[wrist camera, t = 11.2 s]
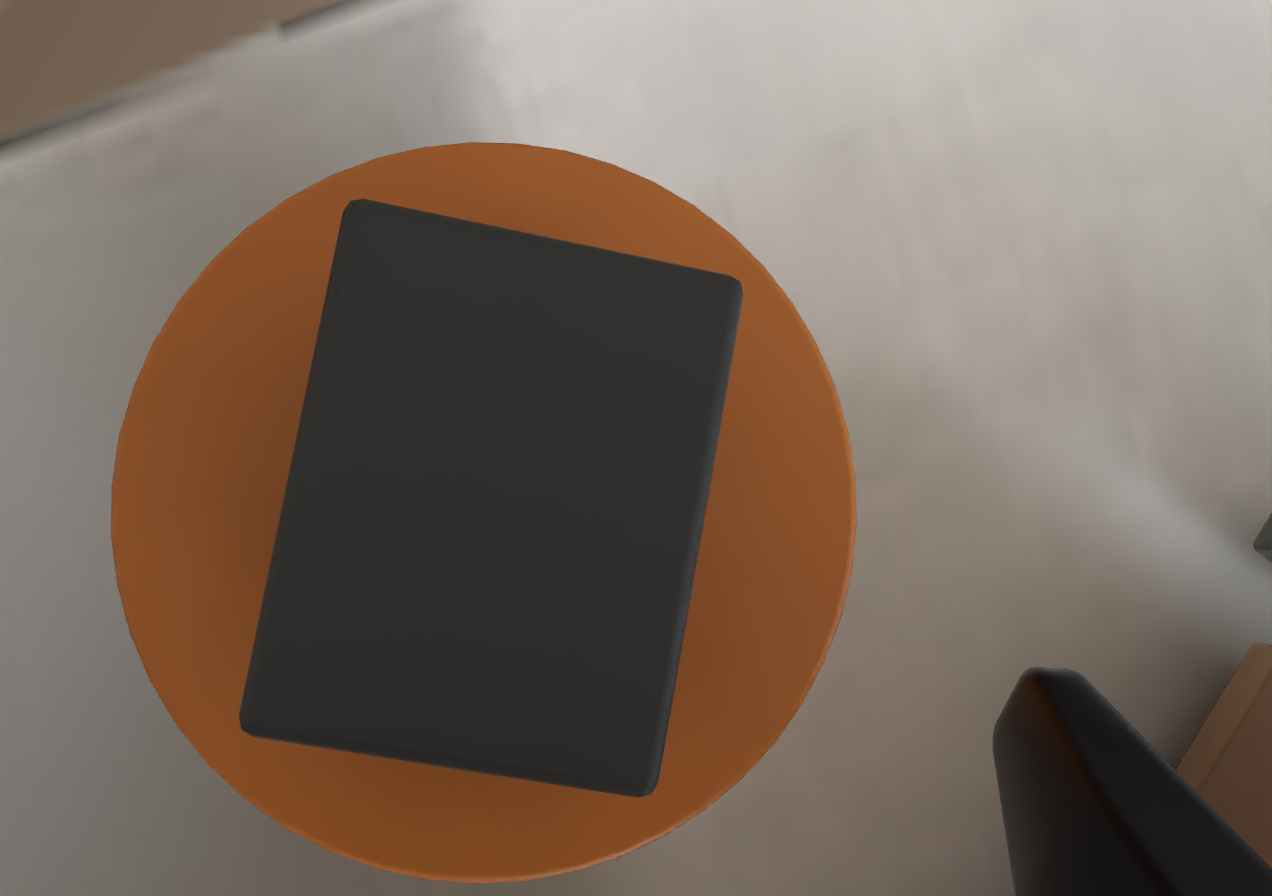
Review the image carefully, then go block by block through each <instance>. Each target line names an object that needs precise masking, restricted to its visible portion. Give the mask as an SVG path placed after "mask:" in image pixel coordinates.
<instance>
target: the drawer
mask: <svg viewBox="0 0 1272 896" xmlns="http://www.w3.org/2000/svg"><path fill="white" fill-rule="evenodd" d="M1253 548H1254V549H1255V550H1256V551H1258V552H1259V553H1260V554H1262V555H1263V556H1264V557H1266V558H1267V559H1268V560H1270V561H1271V562H1272V513H1271V515H1270V516H1269V518H1268V520H1267V521H1266V523H1265V525H1264V526H1263V528H1262V529H1261V531H1260V533H1259V534H1258V536H1257V537H1256V539H1255V541H1254V542H1253ZM1176 771H1177V772H1178V773H1179V774H1180V775H1181V776H1182V777H1183V778H1184V779H1185V780H1186V781H1187V782H1188V783H1189V784H1190V785H1191V786H1192V787H1193V789H1194V790H1195V791H1196V792H1197V793H1198V794H1199V795H1200V796H1201V797H1202V798H1203V799H1204V800H1205V801H1206V802H1207V803H1208V804H1209V805H1210V806H1211V807H1212V808H1213V809H1214V810H1215V811H1216V812H1217V813H1218V814H1219V815H1220V816H1221V817H1222V818H1223V819H1224V820H1225V821H1226V822H1227V823H1228V824H1229V825H1230V826H1231V827H1232V828H1233V829H1234V830H1235V831H1236V832H1237V834H1238V835H1239V836H1240V837H1241V838H1242V839H1243V840H1244V841H1245V842H1246V843H1247V844H1248V845H1249V846H1250V847H1251V848H1252V849H1253V850H1254V851H1255V852H1256V853H1257V854H1258V855H1259V856H1260V857H1261V858H1262V859H1263V860H1264V861H1265V862H1266V863H1267V864H1268V865H1269V866H1270V867H1271V868H1272V645H1267V644H1260V643H1254V644H1253V645H1252V646H1251V648H1250V649H1249V651H1248V652H1247V654H1246V656H1245V657H1244V659H1243V661H1242V662H1241V664H1240V666H1239V667H1238V669H1237V670H1236V672H1235V674H1234V675H1233V677H1232V679H1231V680H1230V682H1229V684H1228V685H1227V687H1226V688H1225V690H1224V692H1223V693H1222V695H1221V697H1220V698H1219V700H1218V701H1217V703H1216V705H1215V706H1214V708H1213V710H1212V711H1211V713H1210V715H1209V716H1208V718H1207V719H1206V721H1205V723H1204V724H1203V726H1202V728H1201V729H1200V731H1199V733H1198V734H1197V736H1196V737H1195V739H1194V741H1193V742H1192V744H1191V746H1190V747H1189V749H1188V751H1187V752H1186V754H1185V755H1184V757H1183V759H1182V760H1181V762H1180V764H1179V765H1178V767H1177V769H1176Z"/></svg>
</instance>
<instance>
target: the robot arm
mask: <svg viewBox="0 0 1272 896" xmlns="http://www.w3.org/2000/svg"><path fill="white" fill-rule="evenodd" d="M993 754H994V761H995V767H996V774H997V780H998V787H999V793H1000V800H1001V806H1002V813H1003V819H1004V826H1005V832H1006V839H1007V845H1008V852H1009V858H1010V864H1011V871H1012V877H1013V884H1014V890H1015V896H1272V868H1271V867H1270V866H1269V865H1268V864H1267V863H1266V862H1265V861H1264V860H1263V859H1262V858H1261V857H1260V856H1259V855H1258V854H1257V853H1256V852H1255V851H1254V850H1253V849H1252V848H1251V847H1250V846H1249V845H1248V844H1247V843H1246V842H1245V841H1244V840H1243V839H1242V838H1241V837H1240V836H1239V835H1238V834H1237V832H1236V831H1235V830H1234V829H1233V828H1232V827H1231V826H1230V825H1229V824H1228V823H1227V822H1226V821H1225V820H1224V819H1223V818H1222V817H1221V816H1220V815H1219V814H1218V813H1217V812H1216V811H1215V810H1214V809H1213V808H1212V807H1211V806H1210V805H1209V804H1208V803H1207V802H1206V801H1205V800H1204V799H1203V798H1202V797H1201V796H1200V795H1199V794H1198V793H1197V792H1196V791H1195V790H1194V789H1193V787H1192V786H1191V785H1190V784H1189V783H1188V782H1187V781H1186V780H1185V779H1184V778H1183V777H1182V776H1181V775H1180V774H1179V773H1178V772H1177V771H1176V770H1175V769H1174V768H1173V767H1172V766H1171V765H1170V764H1169V763H1168V762H1167V761H1166V760H1165V759H1164V758H1163V757H1162V756H1161V755H1160V754H1159V753H1158V752H1157V751H1156V750H1155V749H1154V748H1153V747H1152V746H1151V745H1150V743H1149V742H1148V741H1147V740H1146V739H1145V738H1144V737H1143V736H1142V735H1141V734H1140V733H1139V732H1138V731H1137V730H1136V729H1135V728H1134V727H1133V726H1132V725H1131V724H1130V723H1129V722H1128V721H1127V720H1126V719H1125V718H1124V717H1123V716H1122V715H1121V714H1120V713H1119V712H1118V711H1117V710H1116V709H1115V708H1114V707H1113V706H1112V705H1111V704H1110V703H1109V702H1108V701H1107V699H1106V698H1105V697H1104V696H1103V695H1102V694H1101V693H1100V692H1099V691H1098V690H1097V689H1096V688H1095V687H1094V686H1093V685H1092V684H1091V683H1090V682H1089V681H1088V680H1087V679H1086V678H1085V677H1084V676H1083V675H1081V674H1080V673H1078V672H1077V671H1075V670H1072V669H1067V668H1046V667H1033V668H1029V669H1028V670H1026V671H1025V672H1023V674H1022V675H1021V676H1020V678H1019V680H1018V682H1017V684H1016V686H1015V687H1014V689H1013V691H1012V693H1011V695H1010V697H1009V699H1008V701H1007V702H1006V704H1005V706H1004V708H1003V710H1002V712H1001V714H1000V716H999V717H998V719H997V721H996V724H995V727H994V732H993Z"/></svg>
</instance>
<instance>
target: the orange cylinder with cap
mask: <svg viewBox="0 0 1272 896" xmlns="http://www.w3.org/2000/svg"><path fill="white" fill-rule="evenodd" d="M855 532H856V493H855V473H854V467H853V461H852V454H851V448H850V441H849V435H848V430H847V426H846V423H845V419H844V416H843V412H842V409H841V405H840V402H839V399H838V395H837V392H836V388H835V385H834V383H833V381H832V378H831V376H830V374H829V371H828V369H827V367H826V364H825V362H824V360H823V358H822V355H821V353H820V351H819V348H818V346H817V344H816V342H815V340H814V339H813V337H812V335H811V334H810V332H809V330H808V328H807V327H806V325H805V323H804V322H803V320H802V318H801V317H800V315H799V313H798V312H797V310H796V308H795V307H794V305H793V303H792V302H791V301H790V299H789V298H788V297H787V296H786V294H785V293H784V292H783V290H782V289H781V288H780V287H779V285H778V284H777V283H776V281H775V280H774V279H773V278H772V276H771V275H770V274H769V272H768V271H767V270H766V269H765V267H764V266H763V265H762V264H761V263H760V262H759V261H758V260H757V259H756V258H755V257H754V256H753V255H752V254H751V253H750V252H749V251H748V250H747V249H746V248H745V247H744V246H743V245H742V244H741V243H740V242H739V241H738V240H737V239H736V238H735V237H734V236H733V235H732V234H730V233H729V232H728V231H726V230H725V229H724V228H723V227H721V226H720V225H719V224H717V223H716V222H715V221H713V220H712V219H711V218H710V217H708V216H707V215H706V214H704V213H703V212H702V211H701V210H699V209H698V208H697V207H695V206H694V205H692V204H691V203H689V202H687V201H685V200H684V199H682V198H680V197H679V196H677V195H675V194H673V193H672V192H670V191H668V190H667V189H665V188H663V187H662V186H660V185H658V184H656V183H655V182H653V181H650V180H648V179H646V178H643V177H641V176H639V175H636V174H634V173H632V172H629V171H627V170H624V169H622V168H620V167H617V166H615V165H613V164H610V163H607V162H603V161H600V160H596V159H593V158H589V157H586V156H582V155H579V154H575V153H572V152H568V151H564V150H557V149H551V148H544V147H537V146H531V145H524V144H513V143H461V144H452V145H442V146H433V147H423V148H419V149H415V150H410V151H406V152H402V153H398V154H394V155H389V156H385V157H381V158H377V159H374V160H371V161H368V162H366V163H363V164H360V165H358V166H355V167H353V168H350V169H347V170H345V171H342V172H339V173H337V174H334V175H331V176H329V177H327V178H325V179H324V180H322V181H320V182H318V183H316V184H314V185H312V186H311V187H309V188H307V189H305V190H303V191H301V192H299V193H297V194H296V195H294V196H292V197H290V198H288V199H286V200H285V201H284V202H282V203H281V204H279V205H278V206H277V207H275V208H274V209H273V210H271V211H270V212H268V213H267V214H266V215H264V216H263V217H261V218H260V219H259V220H257V221H256V222H254V223H253V224H252V225H250V226H249V227H247V228H246V229H245V230H244V231H243V232H242V233H241V234H240V235H239V236H238V237H237V238H236V239H235V240H233V241H232V242H231V243H230V244H229V245H228V246H227V247H226V248H225V249H224V250H223V251H222V252H221V253H220V254H219V255H217V256H216V257H215V258H214V259H213V260H212V261H211V262H210V263H209V265H208V266H207V267H206V268H205V270H204V271H203V272H202V273H201V274H200V276H199V277H198V278H197V279H196V281H195V282H194V283H193V284H192V285H191V287H190V288H189V289H188V290H187V292H186V293H185V294H184V295H183V296H182V298H181V299H180V300H179V302H178V303H177V305H176V307H175V308H174V310H173V312H172V313H171V315H170V316H169V318H168V320H167V321H166V323H165V324H164V326H163V328H162V329H161V331H160V333H159V334H158V336H157V337H156V339H155V341H154V342H153V345H152V347H151V349H150V351H149V354H148V356H147V358H146V360H145V363H144V365H143V367H142V369H141V372H140V374H139V376H138V378H137V381H136V383H135V385H134V387H133V390H132V394H131V397H130V401H129V404H128V408H127V411H126V414H125V418H124V421H123V425H122V428H121V431H120V435H119V441H118V447H117V454H116V461H115V467H114V474H113V481H112V509H111V539H112V547H113V554H114V562H115V570H116V578H117V586H118V590H119V594H120V597H121V601H122V605H123V608H124V612H125V616H126V620H127V623H128V627H129V631H130V635H131V637H132V639H133V642H134V644H135V646H136V649H137V651H138V654H139V656H140V658H141V661H142V663H143V665H144V668H145V670H146V672H147V675H148V677H149V679H150V682H151V683H152V685H153V687H154V688H155V690H156V692H157V693H158V695H159V697H160V698H161V700H162V702H163V703H164V705H165V707H166V709H167V710H168V712H169V714H170V715H171V717H172V719H173V720H174V722H175V724H176V725H177V726H178V728H179V729H180V730H181V731H182V733H183V734H184V735H185V736H186V738H187V739H188V740H189V741H190V743H191V744H192V745H193V746H194V748H195V749H196V750H197V751H198V753H199V754H200V755H201V756H202V758H203V759H204V760H205V761H206V763H207V764H208V765H209V766H210V767H211V768H212V769H213V770H215V771H216V772H217V773H218V774H219V775H220V776H221V777H222V778H223V779H224V780H225V781H226V782H227V783H228V784H229V785H230V786H231V787H232V788H234V789H235V790H236V791H237V792H238V793H239V794H240V795H241V796H242V797H243V798H244V799H245V800H247V801H248V802H250V803H251V804H252V805H254V806H255V807H257V808H258V809H259V810H261V811H262V812H264V813H265V814H266V815H268V816H269V817H271V818H272V819H273V820H275V821H276V822H278V823H279V824H280V825H282V826H283V827H285V828H286V829H288V830H290V831H292V832H294V833H296V834H297V835H299V836H301V837H303V838H305V839H307V840H309V841H311V842H313V843H315V844H317V845H318V846H320V847H322V848H324V849H326V850H328V851H330V852H332V853H335V854H338V855H341V856H343V857H346V858H349V859H352V860H354V861H357V862H360V863H363V864H365V865H368V866H371V867H374V868H376V869H380V870H385V871H390V872H394V873H399V874H403V875H408V876H413V877H417V878H422V879H426V880H439V881H451V882H464V883H476V884H477V883H495V882H514V881H528V880H533V879H539V878H544V877H549V876H555V875H560V874H565V873H571V872H575V871H578V870H582V869H585V868H588V867H591V866H594V865H597V864H600V863H603V862H606V861H609V860H612V859H615V858H618V857H621V856H623V855H625V854H628V853H630V852H632V851H634V850H636V849H638V848H640V847H642V846H644V845H646V844H648V843H650V842H653V841H655V840H657V839H659V838H661V837H663V836H665V835H667V834H668V833H670V832H671V831H673V830H674V829H676V828H678V827H679V826H681V825H682V824H684V823H685V822H687V821H688V820H690V819H691V818H693V817H694V816H696V815H698V814H699V813H701V812H702V811H704V810H705V809H707V808H708V807H709V806H710V805H711V804H713V803H714V802H715V801H716V800H717V799H718V798H720V797H721V796H722V795H723V794H724V793H725V792H727V791H728V790H729V789H730V788H731V787H732V786H734V785H735V784H736V783H737V782H738V781H740V780H741V779H742V778H743V777H744V776H745V775H746V774H747V773H748V772H749V770H750V769H751V768H752V767H753V766H754V765H755V764H756V763H757V762H758V761H759V759H760V758H761V757H762V756H763V755H764V754H765V753H766V752H767V751H768V749H769V748H770V747H771V746H772V745H773V744H774V743H775V742H776V740H777V739H778V738H779V736H780V735H781V733H782V732H783V730H784V729H785V727H786V726H787V725H788V723H789V722H790V720H791V719H792V717H793V716H794V715H795V713H796V712H797V710H798V709H799V707H800V706H801V704H802V703H803V701H804V699H805V697H806V696H807V694H808V692H809V690H810V688H811V686H812V684H813V682H814V680H815V678H816V676H817V674H818V673H819V671H820V669H821V667H822V665H823V663H824V661H825V659H826V656H827V653H828V650H829V648H830V645H831V642H832V640H833V637H834V634H835V631H836V629H837V626H838V623H839V621H840V618H841V615H842V610H843V606H844V602H845V597H846V593H847V589H848V584H849V580H850V575H851V571H852V563H853V552H854V542H855Z"/></svg>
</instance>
